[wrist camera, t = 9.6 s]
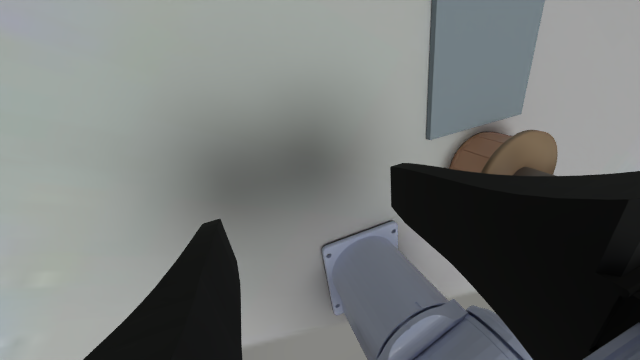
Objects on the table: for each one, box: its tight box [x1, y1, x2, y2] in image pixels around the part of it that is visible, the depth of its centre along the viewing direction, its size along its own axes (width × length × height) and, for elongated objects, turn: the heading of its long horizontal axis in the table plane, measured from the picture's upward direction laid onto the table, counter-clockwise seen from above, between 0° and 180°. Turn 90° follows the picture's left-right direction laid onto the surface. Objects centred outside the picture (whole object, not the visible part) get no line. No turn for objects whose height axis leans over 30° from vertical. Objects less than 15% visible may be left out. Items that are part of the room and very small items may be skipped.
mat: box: [426, 0, 545, 140], centre depth 21 cm, size 11×11×1 cm
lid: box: [481, 130, 557, 176], centre depth 21 cm, size 9×9×5 cm
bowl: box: [449, 132, 512, 173], centre depth 25 cm, size 7×7×4 cm
